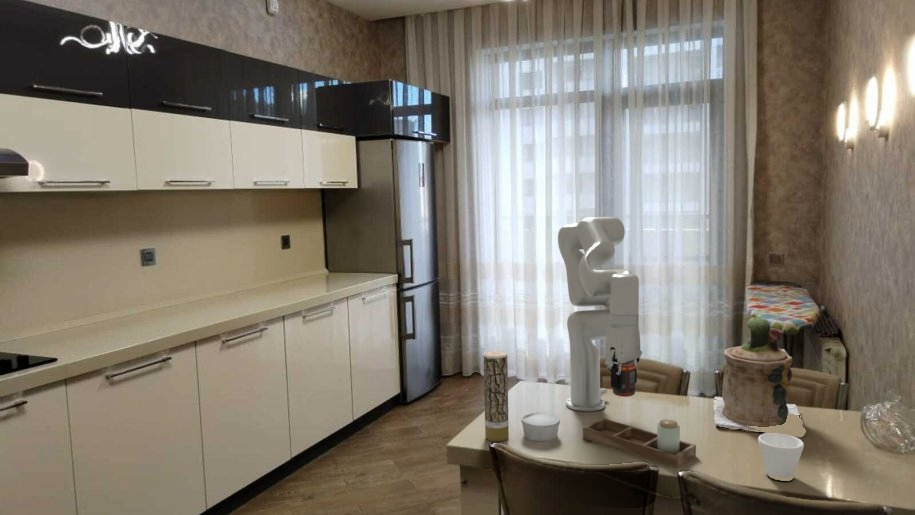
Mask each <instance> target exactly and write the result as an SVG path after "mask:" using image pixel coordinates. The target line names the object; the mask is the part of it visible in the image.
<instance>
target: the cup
mask: <svg viewBox="0 0 915 515" xmlns="http://www.w3.org/2000/svg"><path fill="white" fill-rule="evenodd" d="M757 442H758V445H759V447H760V451H761V456H762V462H763V466H764V470H765V474H766V473H767V474H769V475H772V476H774V477H780V478H789V477H793V476H794V477H795V475H796V472H797V469H798V466H799V463H800V462H799V461H800V459H801V456H802V453H803V451H804V447H805V443H804V442H803V441H802V439H800V438H799V437H794V436H791V435H787V434H781V433H761V434H760V435H759V436H758V437H757Z"/></svg>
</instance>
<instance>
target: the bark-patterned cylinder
mask: <svg viewBox="0 0 915 515" xmlns="http://www.w3.org/2000/svg"><path fill="white" fill-rule="evenodd" d="M508 365H509V364H508V352H506V351H503V350H488V351H485V352H484V353H483V390H484V392H483V393H484V399H483V400H484V434H485V435H484V436H485V438H486V439H487V440H489V441H491V442H496V441H498V442H504V441H506V440H507V439H508V438H509V433H510V432H509V427H510V426H509V424H510V422H509V381H508V379H509V378H508V376H509V375H508V374H509V373H508Z"/></svg>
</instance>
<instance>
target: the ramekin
mask: <svg viewBox="0 0 915 515" xmlns="http://www.w3.org/2000/svg"><path fill="white" fill-rule="evenodd" d="M520 420H521V421H520V422H521V424H522V429H523V434H524V436H525V438H527V439H528V440H530V441H533V442H550V441H553V440H554V439H556V438H557V436H558V433H559V427H560V424H561V420H560V417H559V416H558V415H555V414H554V413H550V412H529V413H527V414H524V415H522V416H521V419H520Z"/></svg>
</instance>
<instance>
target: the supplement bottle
mask: <svg viewBox="0 0 915 515" xmlns="http://www.w3.org/2000/svg"><path fill="white" fill-rule="evenodd" d="M615 362H618V361H617V360H616V361H615ZM615 367H616V368H617V367H618V365H617V364H615ZM620 374H622V389H617V388H613V387H612V393H613V394H614V395H615V396H618V397H623V398H624V397H626V398H627V397H632V396H634V395H635V394H636V383H635V363H634V361H629V362H626V363H623V364H622V368H621V373H620Z"/></svg>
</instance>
